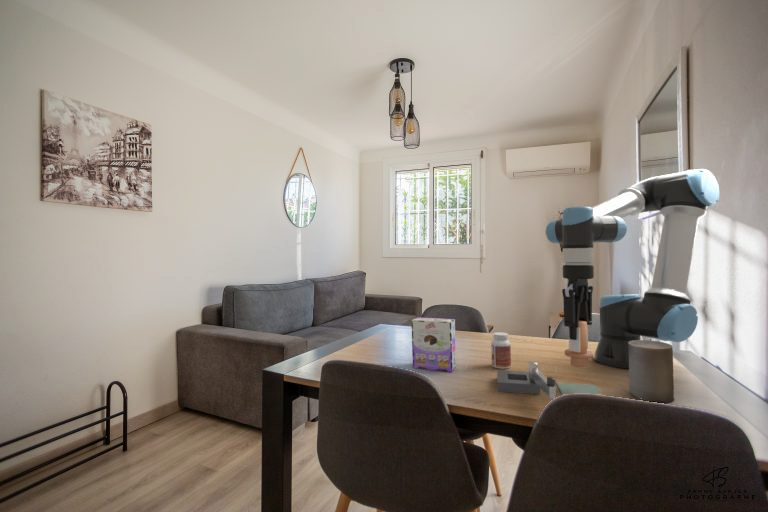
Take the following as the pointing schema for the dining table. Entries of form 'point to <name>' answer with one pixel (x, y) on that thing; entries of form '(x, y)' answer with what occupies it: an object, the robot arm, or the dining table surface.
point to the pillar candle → (651, 370)
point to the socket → (516, 382)
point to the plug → (580, 357)
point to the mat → (577, 388)
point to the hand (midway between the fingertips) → (578, 349)
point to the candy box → (434, 344)
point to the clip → (542, 380)
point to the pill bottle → (501, 351)
